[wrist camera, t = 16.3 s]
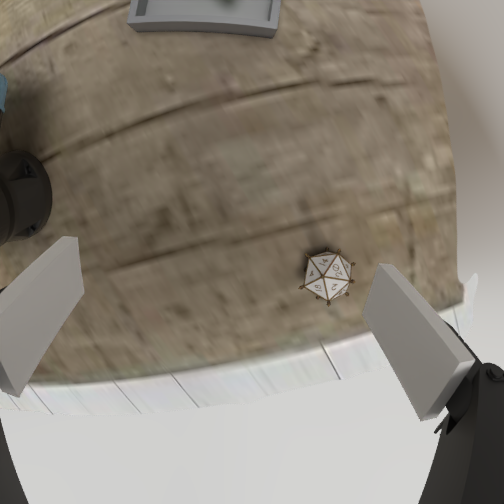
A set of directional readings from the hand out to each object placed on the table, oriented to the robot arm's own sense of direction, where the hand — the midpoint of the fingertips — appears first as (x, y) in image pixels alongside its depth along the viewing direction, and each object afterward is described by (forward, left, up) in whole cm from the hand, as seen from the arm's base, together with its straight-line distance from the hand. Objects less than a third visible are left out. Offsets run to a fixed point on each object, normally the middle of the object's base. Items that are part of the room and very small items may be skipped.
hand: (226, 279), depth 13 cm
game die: (+16, -14, -33) cm, 39 cm away
